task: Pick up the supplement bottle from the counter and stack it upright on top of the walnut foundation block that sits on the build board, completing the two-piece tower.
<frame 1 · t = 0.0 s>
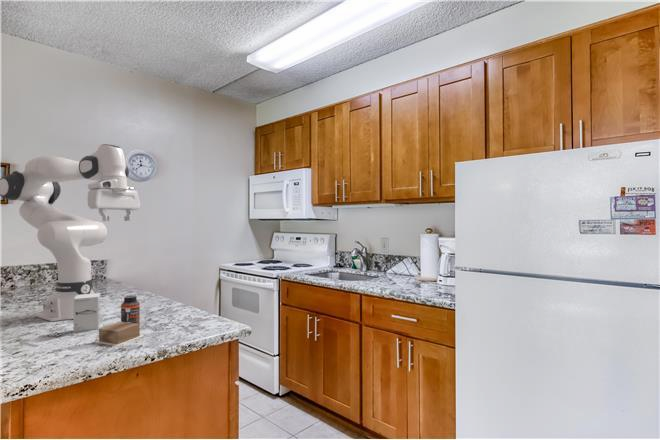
hand: (117, 221, 138), 39 cm above the counter, tool pointing down, fingers open, 8 cm apart
foundation block: (119, 338, 115), point 1 cm above the counter, touching build board
build board: (115, 340, 116), on the counter
supplement box: (87, 331, 126), on the counter
supplement bottle: (130, 327, 130), on the counter
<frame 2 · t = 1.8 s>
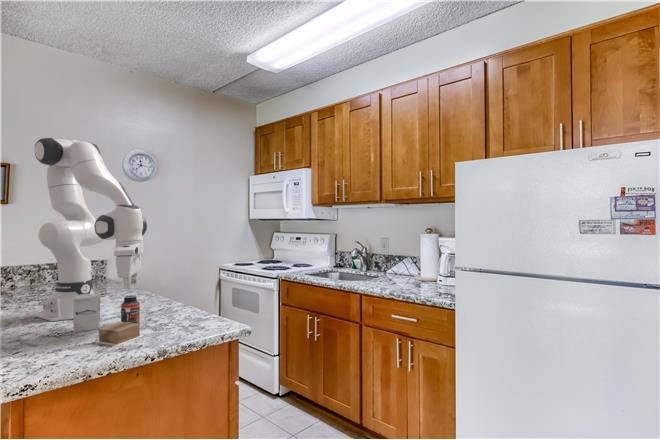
hand: (130, 286, 130), 15 cm above the counter, tool pointing down, fingers open, 8 cm apart
nothing on the counter moved.
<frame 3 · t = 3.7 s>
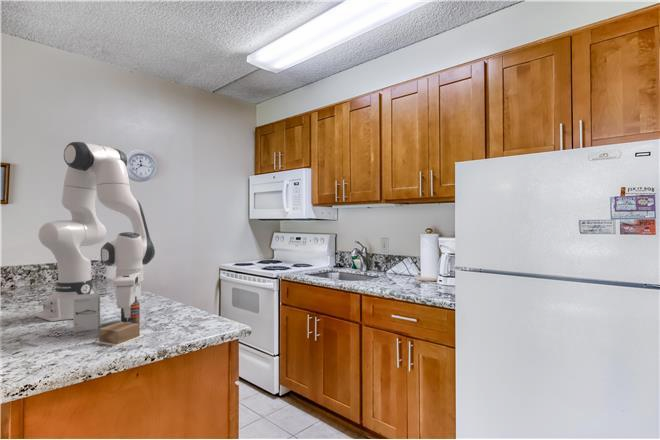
hand: (130, 314, 130), 5 cm above the counter, tool pointing down, fingers closed on supplement bottle, 6 cm apart
supplement bottle: (130, 327, 130), on the counter, touching gripper
everything else where it was.
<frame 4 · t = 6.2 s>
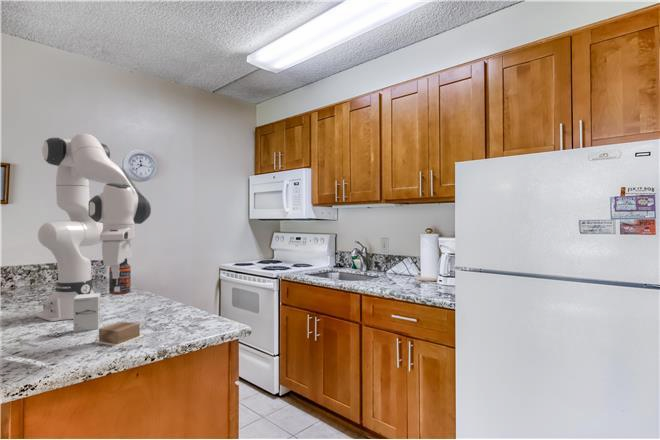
hand: (119, 276, 114), 21 cm above the counter, tool pointing down, fingers closed on supplement bottle, 6 cm apart
supplement bottle: (120, 293, 115), point 16 cm above the counter, touching gripper
everything else where it was.
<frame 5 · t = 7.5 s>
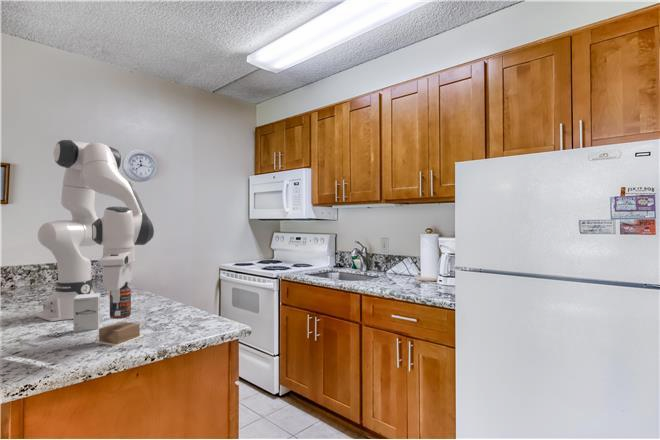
hand: (119, 299, 114), 14 cm above the counter, tool pointing down, fingers closed on supplement bottle, 6 cm apart
supplement bottle: (120, 317, 115), point 8 cm above the counter, touching gripper
everything else where it was.
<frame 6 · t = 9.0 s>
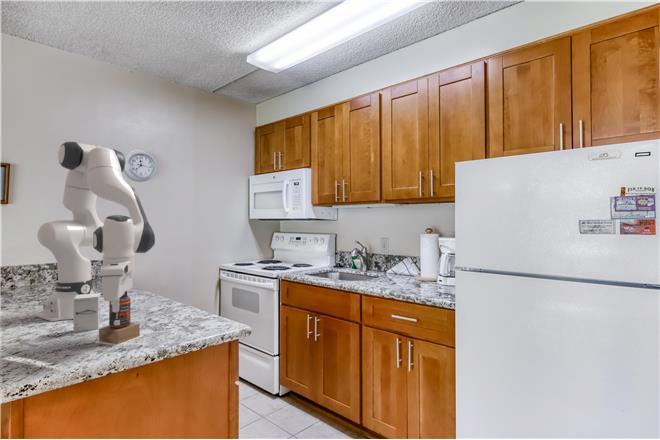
hand: (119, 308, 115), 11 cm above the counter, tool pointing down, fingers closed on supplement bottle, 6 cm apart
foundation block: (119, 338, 115), point 1 cm above the counter, touching supplement bottle, build board
supplement bottle: (120, 326, 115), point 5 cm above the counter, touching foundation block, gripper
everything else where it was.
when the fingers open (11 cm above the counter, at t = 9.0 s): supplement bottle stays where it is, resting on foundation block.
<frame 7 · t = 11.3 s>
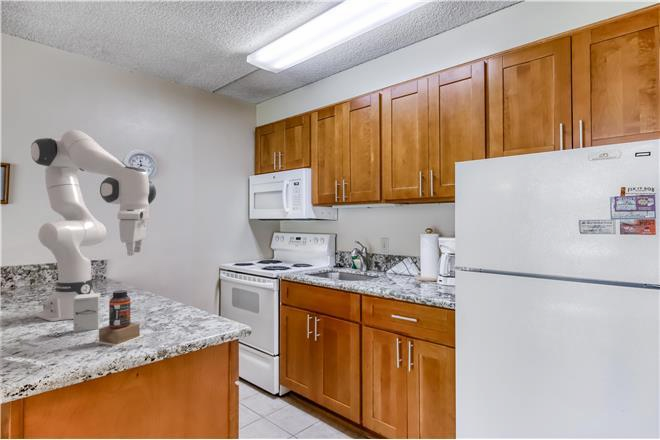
hand: (134, 253, 123), 28 cm above the counter, tool pointing down, fingers open, 8 cm apart
supplement bottle: (120, 326, 115), point 5 cm above the counter, touching foundation block
everything else where it was.
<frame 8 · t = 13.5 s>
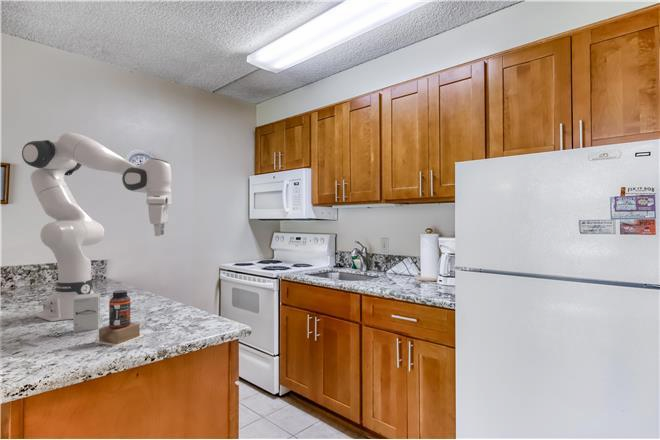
hand: (159, 235, 139), 33 cm above the counter, tool pointing down, fingers open, 8 cm apart
nothing on the counter moved.
at the end: supplement bottle 0.4 cm off-centre on the foundation block, point 3.8 cm above the foundation block's base; supplement bottle tilted 0°; foundation block moved 0.0 cm from its start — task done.
